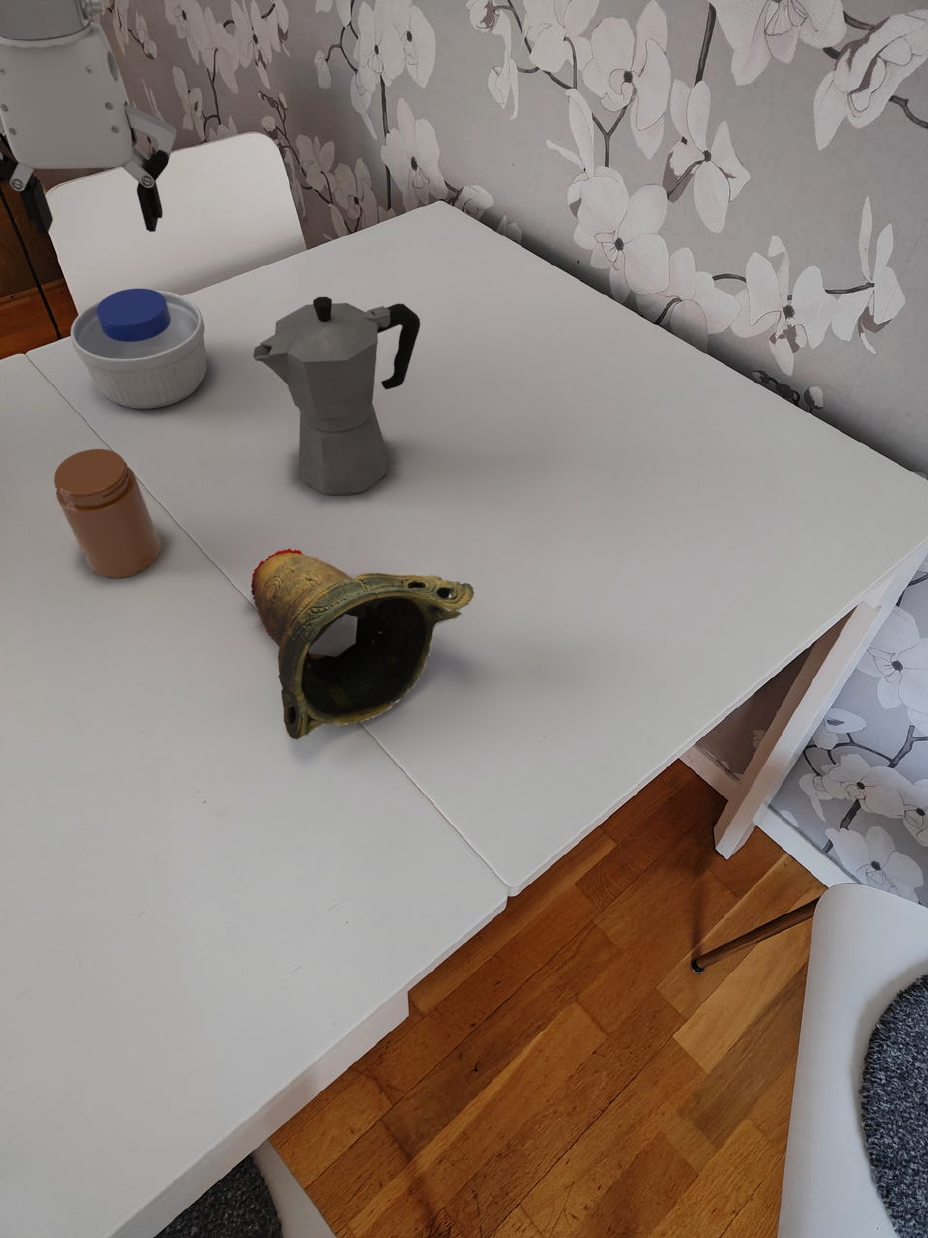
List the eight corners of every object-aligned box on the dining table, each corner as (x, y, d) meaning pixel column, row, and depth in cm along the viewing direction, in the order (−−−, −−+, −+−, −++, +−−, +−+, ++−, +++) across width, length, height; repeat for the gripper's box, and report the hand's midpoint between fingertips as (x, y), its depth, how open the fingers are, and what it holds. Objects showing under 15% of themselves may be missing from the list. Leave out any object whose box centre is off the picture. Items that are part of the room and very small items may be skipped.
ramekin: (239, 363, 97) (227, 306, 91) (166, 431, 89) (148, 373, 84) (143, 334, 100) (125, 278, 95) (65, 397, 93) (41, 339, 87)
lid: (181, 329, 89) (176, 312, 87) (115, 349, 86) (109, 332, 85) (156, 298, 92) (151, 281, 91) (93, 317, 90) (87, 300, 88)
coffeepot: (297, 516, 81) (265, 348, 68) (263, 457, 87) (227, 291, 73) (444, 466, 86) (442, 300, 72) (403, 414, 91) (394, 249, 77)
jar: (83, 582, 76) (43, 501, 69) (91, 531, 80) (54, 449, 73) (158, 573, 77) (126, 492, 69) (162, 523, 81) (132, 441, 73)
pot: (329, 464, 73) (444, 537, 59) (395, 553, 80) (510, 635, 67) (171, 605, 70) (255, 714, 57) (255, 683, 77) (346, 795, 64)
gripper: (154, -5, 71) (197, 205, 85) (-67, -4, 70) (12, 210, 83) (144, 26, 67) (191, 243, 80) (-94, 27, 65) (-6, 249, 78)
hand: (100, 226), depth 81 cm, fingers open, 9 cm apart
